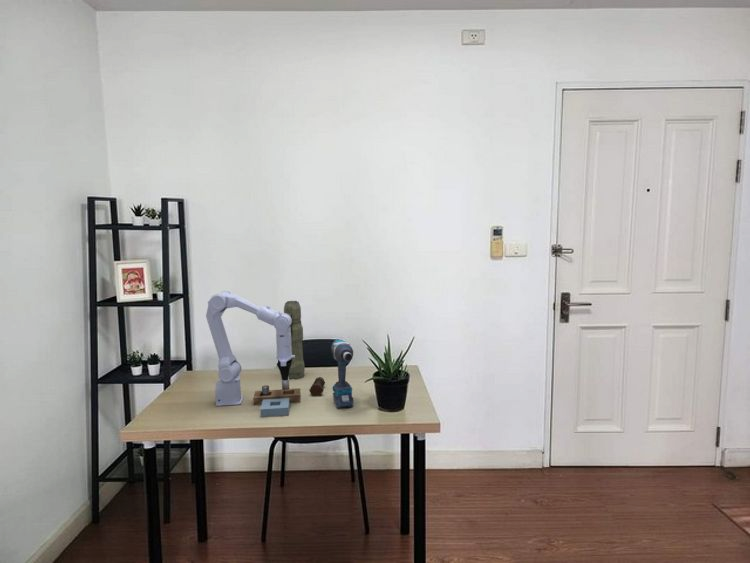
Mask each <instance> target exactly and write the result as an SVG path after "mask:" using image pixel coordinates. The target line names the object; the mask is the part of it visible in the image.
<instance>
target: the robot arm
mask: <svg viewBox="0 0 750 563" xmlns="http://www.w3.org/2000/svg"><path fill="white" fill-rule="evenodd" d="M207 305H208V306H207V310H206V314H205V318H206V321H207V324H208V328H209V331H210V334H211V337H212V340H213V343H214V344H213V345H214V346H215V350H216V353H217V356H218V365H217V367H218V373H217V374H218V378H219V379H220V380H216V382H215V386H214V387H215V403H216V404H215V406H216V407H220V406H222V407H223V406H234V405H235V406H236V405H237V406H238V405H241V404H242V402H243V400H244V396H242V391H241V388H242V386H241V377H240V374H241V372H242V369H243V368H242V365H241V363H240V362H239V361H238V359H237V357H236V356H235V355H234V354H233V351H232V349H231V346H230V341H229V338H228V336H227V332H226V328H225V325H224V321H223V319H222V316H223V314H224V313H225V311H226V310H227V309H232V308H239V309H241V310H243V311H246V312H248V313H251V314H253V315H255V316H256V318H257V320H260V321H261V322H263V323H266V324H268V325H270V326H273V327H274V328H275V333H276V334H275V339H276V340H275V341H276V360H277V363H276V367H277V368H278V370H279V372H280V376H281V381H282V380H283V381H285V380H288V377H289V370H290V367H291V364H292V363H291V362H292V358H295V355H292V347H291V329H290V327H289V326H290V325H291V323H292V319H291V317H290V316H289V315H288V314H287V313H284V312H283V313H282V311H277V310H275V309H272V308H271V306H270V305H262V306H259V305H257V304H255V303H253V302H251V301H249V300H247V299H246V298H244V297H241V296H240V295H238V294H236V293H234V292H231V291H228V290H223V291H221V292H219V293H216V294H214V295H212V296H211V297H210V298H209V300H208V301H207Z"/></svg>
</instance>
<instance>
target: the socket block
mask: <svg viewBox="0 0 750 563" xmlns="http://www.w3.org/2000/svg"><path fill="white" fill-rule="evenodd" d="M290 404H291V403H289V398H281V399H265V400H263V401H262V405H260V411H259V412H260V418H267V417H268V418H269V417H270V418H271V417H284V416H285V417H286V416H289V415H290V414H289V413H290V406H291V405H290Z"/></svg>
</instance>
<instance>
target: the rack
mask: <svg viewBox="0 0 750 563" xmlns="http://www.w3.org/2000/svg"><path fill="white" fill-rule="evenodd" d="M281 398H289V403H290V404H294V403H295V404H297V403H301V388H289V390H282V388H281V389H269V395H268V396H262V390H255V391H254V395H253V397H252V402H253V406H261V405H262V401H263V400H265V399H281Z"/></svg>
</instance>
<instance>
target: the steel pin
mask: <svg viewBox="0 0 750 563" xmlns="http://www.w3.org/2000/svg"><path fill="white" fill-rule="evenodd" d="M281 389H282V390H289V389H290V379H289V377H288V380H285V381H283V380H282V379H281Z"/></svg>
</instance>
